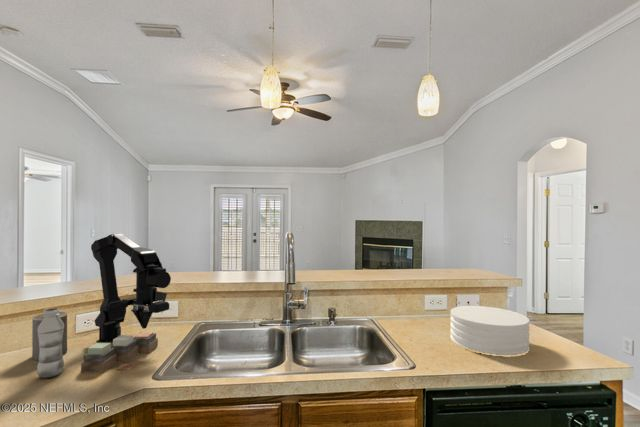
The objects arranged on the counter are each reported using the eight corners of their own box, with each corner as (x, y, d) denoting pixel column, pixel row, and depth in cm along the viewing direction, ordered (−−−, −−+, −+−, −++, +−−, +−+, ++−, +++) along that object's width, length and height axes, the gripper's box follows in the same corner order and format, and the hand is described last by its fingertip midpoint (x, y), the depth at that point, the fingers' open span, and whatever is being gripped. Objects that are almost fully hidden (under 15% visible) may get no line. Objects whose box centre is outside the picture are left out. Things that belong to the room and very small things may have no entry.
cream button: (112, 347, 118) (112, 339, 118) (120, 342, 122) (120, 335, 122) (126, 347, 118) (126, 339, 118) (133, 342, 122) (133, 335, 122)
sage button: (87, 356, 110) (88, 348, 110) (96, 350, 115) (96, 342, 115) (102, 356, 110) (102, 348, 110) (110, 350, 115) (110, 342, 115)
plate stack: (449, 350, 131) (449, 319, 131) (451, 328, 157) (451, 303, 157) (535, 363, 120) (536, 329, 120) (522, 337, 146) (523, 310, 146)
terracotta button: (134, 343, 125) (134, 336, 125) (140, 339, 130) (140, 332, 130) (147, 343, 125) (147, 336, 125) (152, 339, 130) (153, 332, 130)
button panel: (81, 372, 109) (81, 356, 109) (119, 346, 131) (120, 332, 131) (126, 372, 109) (126, 356, 109) (157, 346, 131) (157, 332, 131)
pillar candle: (55, 347, 128) (55, 307, 128) (73, 351, 125) (73, 309, 125) (25, 358, 119) (25, 314, 119) (43, 362, 116) (43, 317, 116)
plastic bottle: (69, 372, 108) (70, 307, 108) (45, 382, 102) (47, 313, 102) (54, 369, 110) (55, 306, 111) (30, 378, 104) (32, 311, 104)
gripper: (181, 283, 131) (180, 325, 131) (145, 279, 139) (145, 319, 139) (156, 289, 121) (156, 334, 121) (119, 284, 129) (118, 327, 129)
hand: (144, 328), depth 128 cm, fingers closed
